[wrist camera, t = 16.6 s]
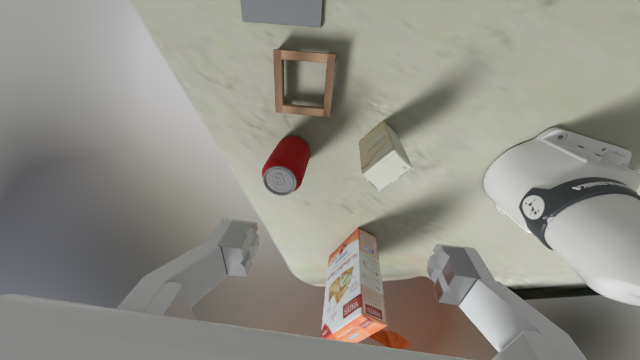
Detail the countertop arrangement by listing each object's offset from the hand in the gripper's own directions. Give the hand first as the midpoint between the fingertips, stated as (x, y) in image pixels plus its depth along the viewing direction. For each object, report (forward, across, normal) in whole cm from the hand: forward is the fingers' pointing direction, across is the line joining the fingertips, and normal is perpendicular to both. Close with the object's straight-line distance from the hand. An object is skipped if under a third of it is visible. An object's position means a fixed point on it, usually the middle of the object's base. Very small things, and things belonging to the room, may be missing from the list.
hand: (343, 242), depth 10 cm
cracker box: (+34, -6, +38) cm, 52 cm away
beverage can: (+34, +9, +12) cm, 38 cm away
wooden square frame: (+34, +7, -1) cm, 35 cm away
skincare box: (+34, -7, +8) cm, 36 cm away
